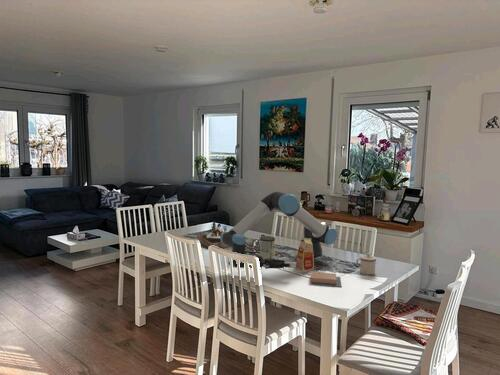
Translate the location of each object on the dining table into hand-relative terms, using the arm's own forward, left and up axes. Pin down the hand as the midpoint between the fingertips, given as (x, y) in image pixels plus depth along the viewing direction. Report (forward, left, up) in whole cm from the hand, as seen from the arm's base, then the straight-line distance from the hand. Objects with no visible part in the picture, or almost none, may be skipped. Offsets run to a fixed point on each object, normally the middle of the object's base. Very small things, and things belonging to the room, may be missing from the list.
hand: (295, 265), depth 214 cm
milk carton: (-17, -12, -8) cm, 22 cm away
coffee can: (-7, -40, -8) cm, 42 cm away
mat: (-13, +11, -8) cm, 19 cm away
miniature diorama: (+4, -92, -8) cm, 93 cm away
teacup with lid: (-46, +10, -8) cm, 47 cm away
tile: (-7, +6, -6) cm, 11 cm away
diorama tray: (+3, -91, -8) cm, 92 cm away
